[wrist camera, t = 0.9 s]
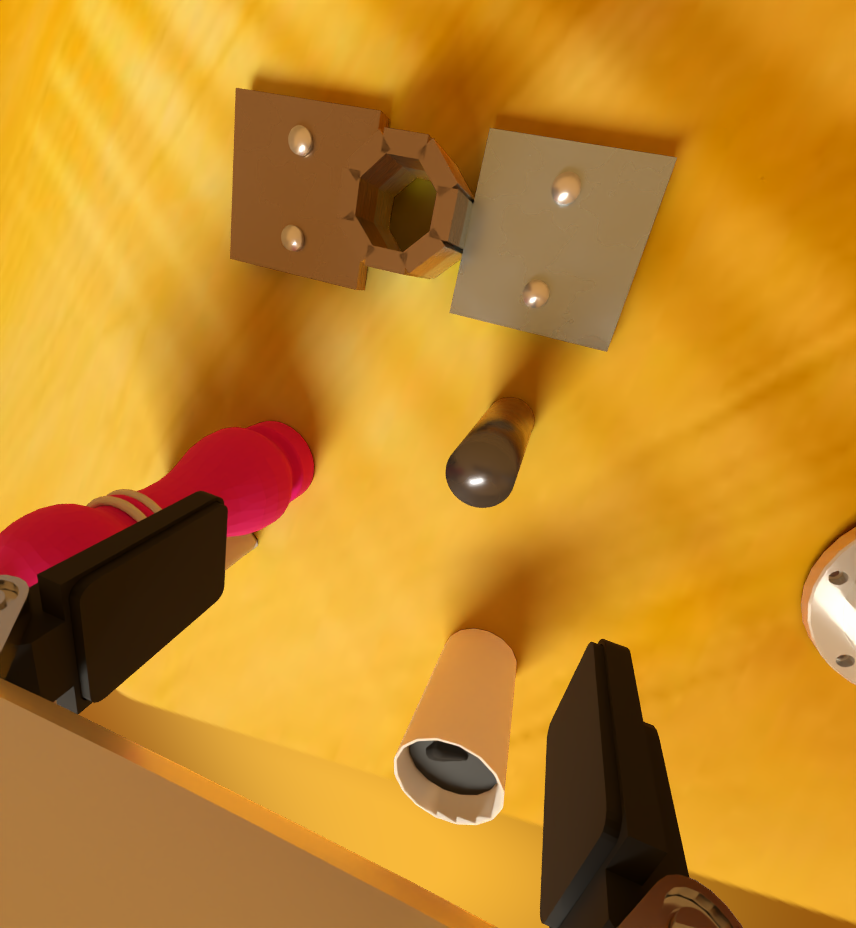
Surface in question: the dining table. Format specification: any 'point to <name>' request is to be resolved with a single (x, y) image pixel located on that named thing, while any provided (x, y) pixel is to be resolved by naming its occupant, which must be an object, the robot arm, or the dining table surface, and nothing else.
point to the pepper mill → (172, 497)
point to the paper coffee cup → (461, 731)
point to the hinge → (446, 213)
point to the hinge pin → (491, 454)
